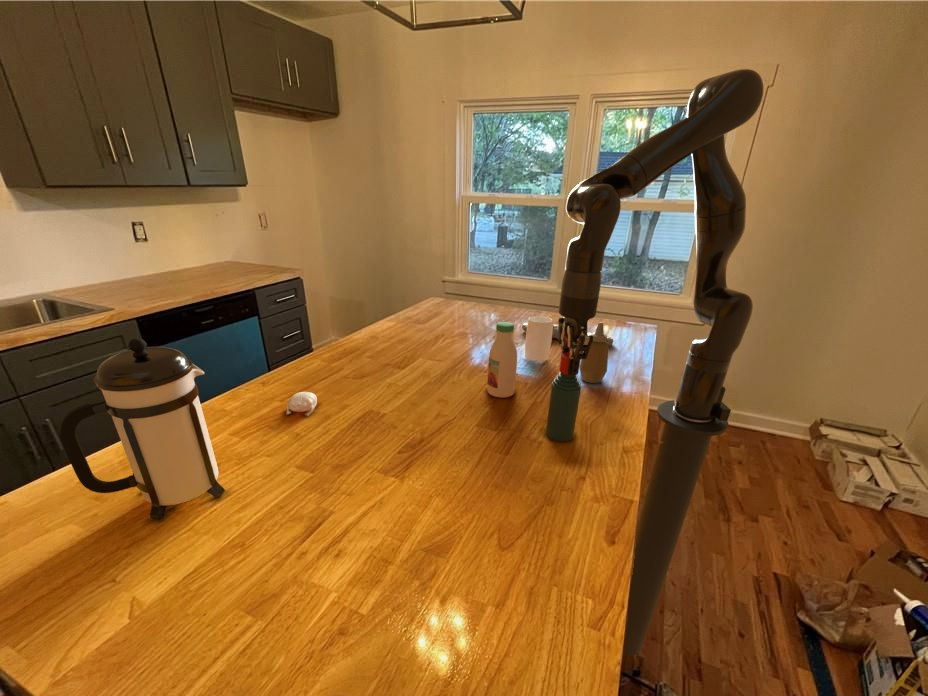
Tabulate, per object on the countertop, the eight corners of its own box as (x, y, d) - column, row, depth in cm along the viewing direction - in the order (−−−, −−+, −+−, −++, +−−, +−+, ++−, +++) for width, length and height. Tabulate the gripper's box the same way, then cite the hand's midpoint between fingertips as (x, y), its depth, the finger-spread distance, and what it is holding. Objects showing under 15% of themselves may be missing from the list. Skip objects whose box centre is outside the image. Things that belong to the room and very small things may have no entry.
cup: (523, 354, 145) (527, 314, 139) (548, 356, 145) (552, 316, 139) (524, 364, 138) (528, 322, 132) (550, 365, 137) (555, 323, 131)
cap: (576, 368, 95) (578, 352, 93) (579, 375, 91) (582, 359, 89) (557, 367, 95) (560, 351, 93) (560, 374, 91) (563, 358, 89)
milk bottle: (513, 386, 122) (519, 320, 114) (515, 399, 115) (521, 328, 107) (486, 385, 123) (490, 319, 114) (487, 397, 116) (490, 327, 107)
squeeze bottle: (587, 386, 124) (597, 327, 116) (572, 375, 131) (581, 319, 123) (610, 383, 126) (621, 325, 118) (594, 373, 133) (604, 317, 125)
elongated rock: (609, 353, 152) (612, 346, 161) (612, 339, 150) (616, 333, 159) (517, 332, 165) (525, 327, 173) (519, 319, 163) (527, 314, 171)
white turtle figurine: (309, 417, 104) (307, 403, 102) (282, 415, 104) (280, 402, 102) (321, 402, 111) (319, 389, 109) (296, 400, 111) (294, 387, 110)
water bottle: (570, 427, 103) (582, 352, 94) (575, 442, 97) (588, 363, 88) (544, 426, 103) (553, 351, 94) (547, 440, 97) (558, 362, 89)
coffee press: (175, 462, 86) (129, 320, 73) (247, 473, 84) (212, 327, 71) (94, 523, 70) (17, 356, 58) (179, 538, 68) (119, 367, 55)
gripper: (613, 301, 80) (598, 383, 87) (583, 284, 92) (573, 357, 100) (575, 301, 79) (563, 384, 86) (550, 284, 91) (542, 358, 99)
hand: (568, 369), depth 93 cm, fingers closed on cap, 4 cm apart
